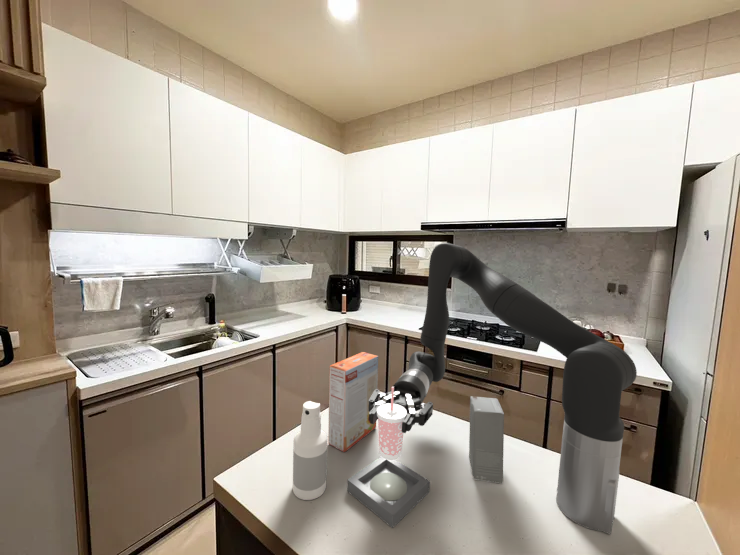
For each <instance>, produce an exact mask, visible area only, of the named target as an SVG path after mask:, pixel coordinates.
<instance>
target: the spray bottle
mask: <svg viewBox="0 0 740 555" xmlns="http://www.w3.org/2000/svg"><path fill="white" fill-rule="evenodd" d="M300 420H301V423H300V430H299V431H298V432H297V433H296V434H295V435H294V437H293V449H292V451H293V452H292V453H293V454H292V455H293V456H292V457H293V458H292V491H293V495H295V497H296V498H298V499H300V500H304V501H311V500H315V499H318V498H319V497H321V496H322V495H323V494H324V493H325V491H326V489H327V469H328V468H327V465H328V464H327V463H328V433H327V432H326V431H324V430H323V429H322V422H321V420H322V413H321V403H320V402H314V401H311V400H307V401H305V402H304V403H303V405H302V414H301V419H300Z"/></svg>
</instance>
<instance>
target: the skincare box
mask: <svg viewBox="0 0 740 555" xmlns="http://www.w3.org/2000/svg"><path fill="white" fill-rule="evenodd" d="M469 398H470V399H469V439H468V440H469V441H468V442H469V444H468V445H469V446H468V448H469V449H468V450H469V451H468V460H469V465H470V469H471V474H472V479H474V480H478V481H485V482H490V483H496V484H503V483H504V443H505V442H504V441H505V440H504V434H505V430H504V429H505V413H504V410H503V408H502V406H501V404H500V402H499V399H498V398H495V397H483V396H474V395H473V396H472V395H470V396H469Z"/></svg>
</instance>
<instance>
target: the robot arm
mask: <svg viewBox="0 0 740 555" xmlns="http://www.w3.org/2000/svg"><path fill="white" fill-rule="evenodd" d="M451 278H453V279H456V280H458V281H461V282H463V283H464V284H466V285H467V286H469V287H470V288H471V289H473V290H474V291H475V292H476V293H477V295H478V296H479V298H480V299H481V301H482V303H483V305H484V306H485V308H487V310H488V311H489V312H491V314H492V315H494V316H495V317H496V318H497V319H499V320H500V321H502V322H503V323H504V324H505V325H506V326H508V327H510V328H511V329H512V330H515V331H516V332H518V333H520V334H523V335H525V336H527V337H530V338H532V339H534V340H537V341H538V342H541V343H543V344H545V345H547V346H550V347H551V348H553V349H554V350H556V352H558V353H560V354H561V355H563V356H564V357H565V359H566V360H565V362H564V366H563V367H564V368H563V375H562V376H563V377H562V388H561V389H562V393H561V405H562V409H563V411H564V418H563V429H562V438H561V446H560V448H561V449H560V459H559V467H558V477H557V488H556V498H555V499H556V504H557V507H558V508H559V510H560V511H561V512H562V513H563V514H564V515H565V516H566V517H568V519H569V520H571V521H573V522H574V523H576V524H578V525H580V526H581V527H584V528H587V529H589V530H594V531H598V532H604V533H605V534H608V535H611V534H612V530H613V523H614V520H615V519H614V518H615V513H616V506H617V498H618V497H617V496H618V488H619V480H620V464H621V455H622V448H623V447H622V446H623V439H624V431H625V423H624V421H623V419H622V418H621V417H620V413H621V412H620V411H621V410H620V409H621V399H622V393H623V392H622V391H624V390H626V389H627V388H629V387H630V386H632V384H633V383H634V382H635V381H636V378H637V374H638V372H637V367H636V365H635V362H634V361H633V359H632V358H631V356H630V355H629V354H628V353H627V352H626V351H624V350H623V349H622V348H620V347H619V346H618V345H615V344H614V343H612V342H610V341H608V340H606V339H605V338H603V337H601V336H599V335H598V334H597V335H596V334H595V333H594V332H592V331H590V330H587V329H586V328H584V327H582V326H581V325H579V324H577V323H575V322H574V321H573V320H572V319H569V318H568V317H566V315H564V314H562V313H561V312H559V310H556V309H555V308H554V307H553V306H551V305H550V304H548V303H546V302H545V301H544V300H542V299H540V298H539V297H537V296H536V295H535V294H534V293H532V292H531V291H529V290H527V289H526V288H524V287H523V286H522V285H520V284H518V283H517V282H515V281H514V280H512V279H510V278H509V277H507V276H505V275H503V273H502V274H501V273H500V272H498V271H496V270H494V269H493V268H491V267H489V266H488V265H487V264H486V263H484V262H483V261H482V260H481V259H480V258H478V257H477V256H476V255H475V254H473V252H472V251H470V250H469V249H468V248H466V247H464V246H461V245H457V244H454V243H450V242H441V243H439V244H437V245H436V246H435V247H434V248H433V249H432V252H431V254H430V257H429V264H428V282H427V299H426V309H425V315H424V319H423V324H422V329H421V333H420V338H419V341H420V343H421V344H422V345H423V346H424V347H426V348H428V349H429V350H431V351H432V353H433V354H430V353H426V352H423V351H419V350H418V351H415V352H413V353H411V355H410V357H409V360H408V368H407V370H406V371H405V372H403V373H402V374H401V376H400V377H398V379H397V381H396V382H395V383H394V384H393V385H392V387H394V399H393V404H398V405H401V406H402V407H404V408H405V409H406V411H407V415H406V417H405V419H404V420H403V422H402V433H404V434H406V433H407V432H410V431H411V430H412V427H413V426H414V425H415V424H418V426H420V427H423V426H425V425H426V424H427V423H428V421H429V420H430V418H431V417H432V416H433V412H434V411H433V410H434V403H433V402H432V401H427V403H424V402H423V401H424V400H425V398H426V397H427V396H428V391H429V389H430V387H431V385H432V384H433V382H435V383H438V382H440V381H441V380H443V378H444V376H445V373H446V361H445V360H446V359H445V346H446V344H445V343H446V338H447V335H448V332H449V331H448V330H449V326H450V312H449V306H448V299H447V288H448V286H449V284H448V283H449V282H450V279H451ZM391 391H392V388H391V389H390V391H388V392H387V391H386V392H385V393H381V392H380V389H378V388H377V389H376V390H374V392H373V394H372V395H371V397H370V399H369V407H368V411H369V421H370V423H371V424H374V423H375V422H376V423H377V422H378V416H377V408H378V407H379V406H380V405H382V404H387V403H391ZM417 411H419V412H417Z"/></svg>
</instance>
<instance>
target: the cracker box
mask: <svg viewBox="0 0 740 555" xmlns="http://www.w3.org/2000/svg"><path fill="white" fill-rule="evenodd" d="M328 369H329V374H328V380H329V381H328V383H329V384H328V386H329V387H328V434H327V436H328V437H327V445H329V446H332V447H334V448H336V449H338V450H339V451H341V452H343V453H346V452H347V451H348V450H349V449H351V448H352V447H353V446H355V445H357V443H358V442H360V441H362V439H364V438H365V437H366V436H368V434H370V433H371V432H372V431H373V430H375V429H376V428H377V421H376V422H375V423H374V424H371V423H370V421H369V411H368V407H369V399H370V397H371V395H372V394H373V392H374V390H376V389H378V385H379V384H378V383H379V382H378V378H379V355H376V354H372V353H369V352H365V351H361V352H359V353H357V354H354V355H351V356H349V357H347V358H345V359H342V360H340V361H338V362H335V363H333V364H330V365H329V368H328Z"/></svg>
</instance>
